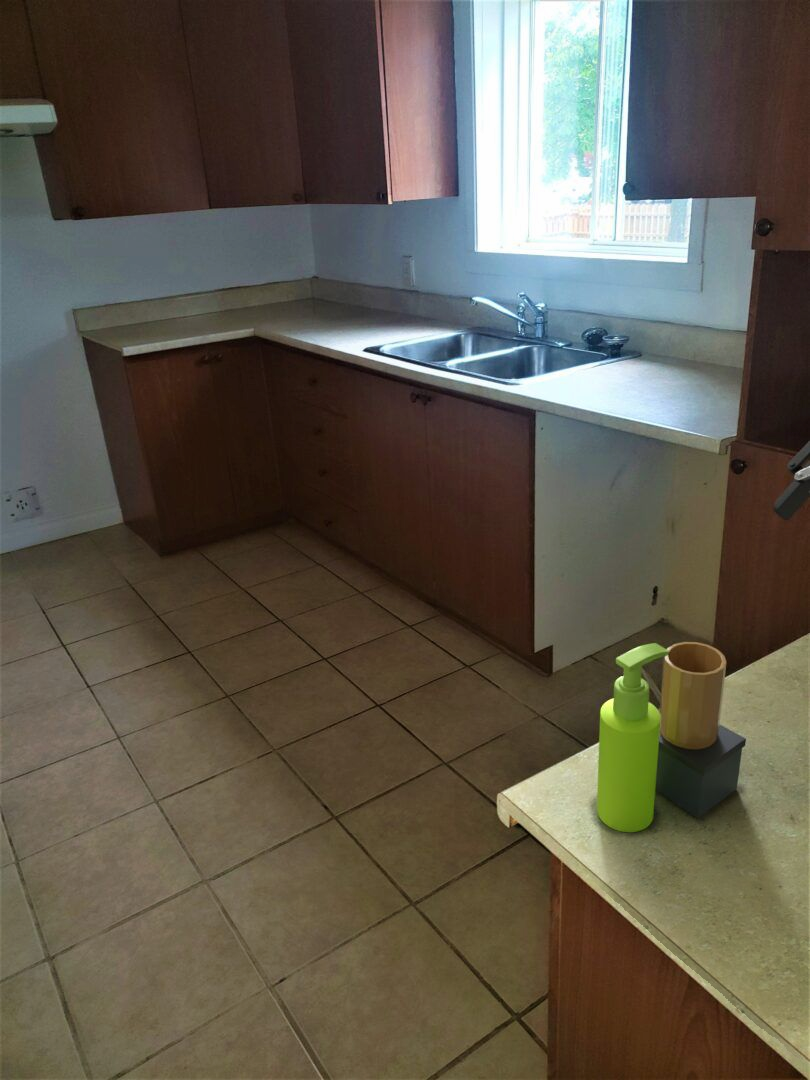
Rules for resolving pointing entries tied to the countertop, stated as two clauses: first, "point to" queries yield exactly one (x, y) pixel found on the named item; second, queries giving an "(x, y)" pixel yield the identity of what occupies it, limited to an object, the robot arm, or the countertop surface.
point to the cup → (692, 695)
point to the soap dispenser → (629, 746)
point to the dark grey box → (699, 772)
